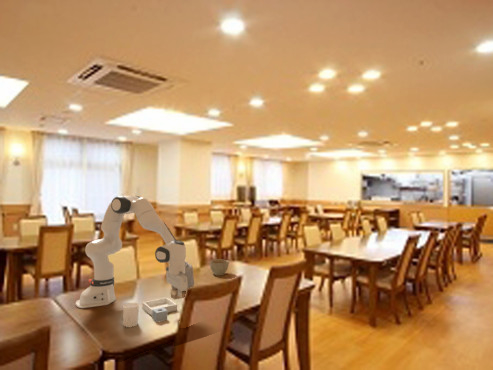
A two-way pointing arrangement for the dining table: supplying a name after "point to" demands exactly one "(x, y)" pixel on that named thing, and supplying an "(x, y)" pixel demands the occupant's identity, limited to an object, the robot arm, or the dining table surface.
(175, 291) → the maple block
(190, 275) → the jar
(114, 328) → the dining table surface
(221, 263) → the planter bowl
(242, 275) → the dining table surface
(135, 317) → the white cup
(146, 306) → the cream tray
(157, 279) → the dining table surface
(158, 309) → the slate block
